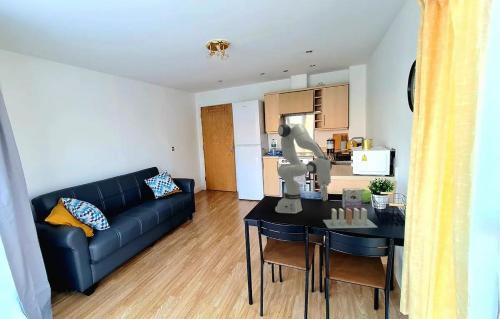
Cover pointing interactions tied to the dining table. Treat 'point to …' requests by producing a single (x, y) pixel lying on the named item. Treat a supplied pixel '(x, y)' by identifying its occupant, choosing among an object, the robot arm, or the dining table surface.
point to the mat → (346, 225)
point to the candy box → (352, 198)
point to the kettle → (366, 196)
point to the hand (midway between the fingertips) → (324, 200)
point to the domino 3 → (348, 216)
